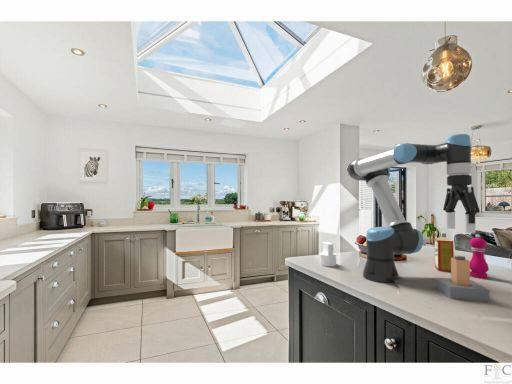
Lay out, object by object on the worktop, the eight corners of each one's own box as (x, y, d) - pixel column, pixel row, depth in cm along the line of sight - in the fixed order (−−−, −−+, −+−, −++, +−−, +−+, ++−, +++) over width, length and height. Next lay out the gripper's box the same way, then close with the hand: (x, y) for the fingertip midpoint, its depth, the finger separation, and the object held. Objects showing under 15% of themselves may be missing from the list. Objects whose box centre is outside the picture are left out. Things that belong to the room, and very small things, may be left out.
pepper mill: (492, 279, 121) (491, 235, 122) (474, 278, 123) (473, 235, 123) (482, 274, 128) (481, 233, 129) (465, 274, 130) (464, 233, 130)
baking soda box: (454, 272, 133) (453, 240, 133) (438, 270, 136) (437, 239, 136) (449, 267, 141) (448, 238, 142) (435, 266, 144) (434, 237, 145)
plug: (457, 295, 98) (456, 257, 98) (451, 291, 102) (450, 255, 102) (470, 296, 97) (469, 258, 97) (464, 292, 101) (463, 255, 101)
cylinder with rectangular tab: (317, 262, 153) (317, 241, 154) (332, 262, 154) (332, 241, 155) (323, 266, 144) (323, 244, 145) (339, 266, 145) (338, 244, 146)
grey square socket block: (450, 301, 95) (450, 287, 95) (435, 290, 107) (435, 277, 107) (489, 304, 92) (489, 289, 92) (470, 292, 104) (470, 279, 104)
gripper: (491, 171, 88) (493, 235, 88) (453, 177, 113) (454, 227, 112) (466, 172, 90) (467, 234, 89) (433, 177, 114) (434, 226, 114)
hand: (460, 230), depth 101 cm, fingers open, 13 cm apart
